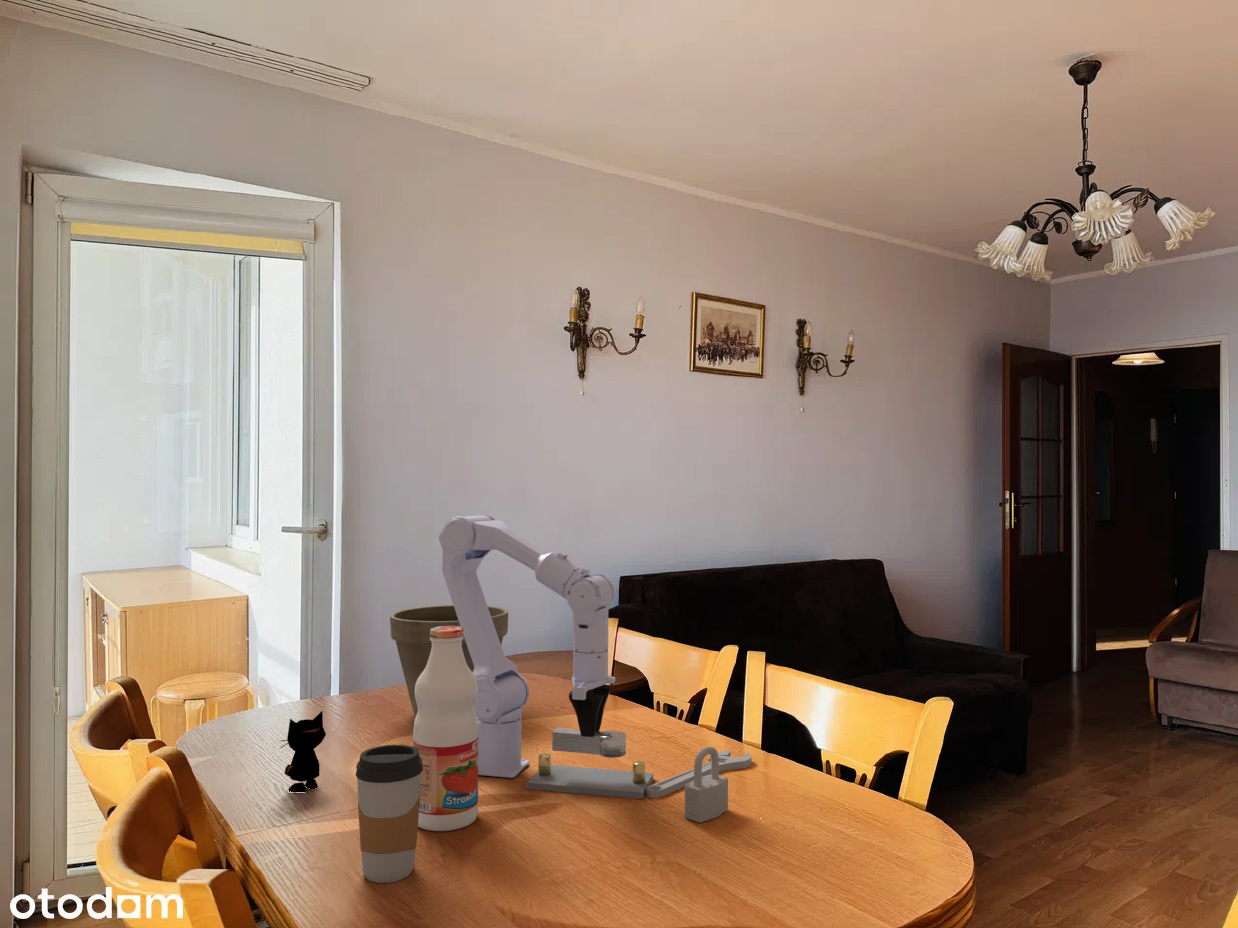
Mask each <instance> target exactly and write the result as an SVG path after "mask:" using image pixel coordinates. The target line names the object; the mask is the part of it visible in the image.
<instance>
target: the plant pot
mask: <svg viewBox="0 0 1238 928" xmlns="http://www.w3.org/2000/svg"><path fill="white" fill-rule="evenodd" d="M487 606H488V609H489V612H490V615H491V618H492V621H493V624H494V627H495V629H496V632H497V635H498V638H499V641H500V644H501V646H502V644H503V640H504V636H506V635H507V634H508V631H509V611H508V610H507V609H505V608H503V607H498V606H492V605H487ZM389 625H390V637H391V639H392V640H393V641H395V643H396V648H397V653H398V656H399V660H400V664H401V669H402V672H403V673H402V674H403V677H404V680H405V681H404V682H405V684H406V689H407V692H408V696H409V701H410V704H411V708H412V711H413V714H414V716H415V717H416V715H417V713H418V706H417V702H416V699H415V685H416V681H417V679H418V678H419V676H420V675H421V673H422V672H423V671H424V669H425V667H426V665H427V663H428V659H429V656H430V653H431V648H432V641H431V640H430V629H431V628H434V627H439V626H458V627H461V626H460V623H459V620H458V617H457V614H456V611H455V608H454V605H453V604H445V605H444V604H443V605H430V606H429V605H428V606H420V607H411V608H405V609H401V610H397V611H395V612H393V613H391V614H390V615H389ZM461 644H462V650H463V654H464V657H465V660H466V663H467V665H468V667H469V669H470V670H471V671H472V673H473V671H474V665H473V662H472V659H471V656H470V653H469V650H468V647H467V644H466V641H465V638H464V635H463V640H462V641H461Z"/></svg>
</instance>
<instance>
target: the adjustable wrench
mask: <svg viewBox="0 0 1238 928" xmlns="http://www.w3.org/2000/svg"><path fill="white" fill-rule="evenodd" d="M717 752H718V756H719V773H721V772H725V771H732V770H737V769H738V770H739V769H745V768H748V767H750V766H752V755H751V754H750V753H749V752H745V754H744V755H743V756H736V757H734V756H731V750H721V751H717ZM710 774H711V754H709V758H708V762H706V763H702V776H707V775H710ZM693 780H694V767H693V768H691V769H689V770H686V771H683V772H681V773H678V774H676V775H673V776H671V777H668V778H665V779H663V780H660V781H657V782H656V783H652V784H650V786H648V787H647V792H646V796H647V797H649V798H652V799H655V798H656V799H657V798H662V797H663V796H666V795H668V794H671V793H673V792H676V791H678V790H680V789H683V788H685V785H686V784H688V783H690V782H691V781H693Z"/></svg>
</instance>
